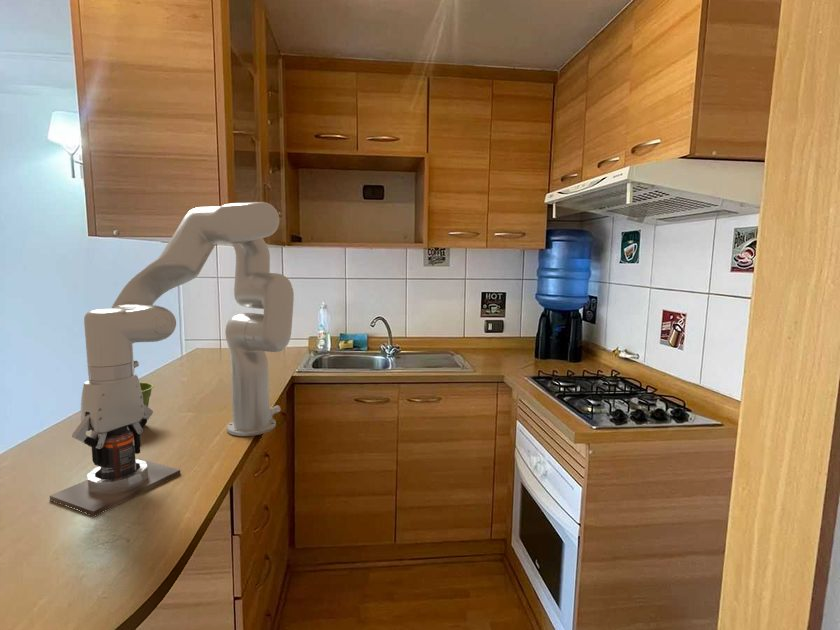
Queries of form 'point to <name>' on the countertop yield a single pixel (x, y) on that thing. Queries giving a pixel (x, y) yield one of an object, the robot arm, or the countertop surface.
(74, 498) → the holder board
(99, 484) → the steel collar
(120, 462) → the supplement bottle
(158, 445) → the countertop surface
